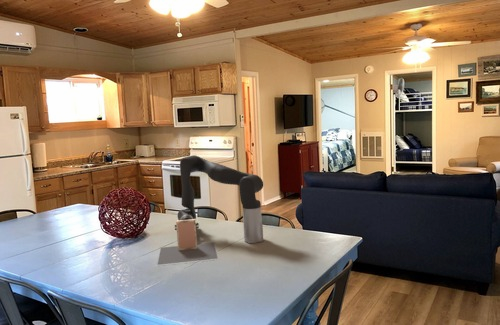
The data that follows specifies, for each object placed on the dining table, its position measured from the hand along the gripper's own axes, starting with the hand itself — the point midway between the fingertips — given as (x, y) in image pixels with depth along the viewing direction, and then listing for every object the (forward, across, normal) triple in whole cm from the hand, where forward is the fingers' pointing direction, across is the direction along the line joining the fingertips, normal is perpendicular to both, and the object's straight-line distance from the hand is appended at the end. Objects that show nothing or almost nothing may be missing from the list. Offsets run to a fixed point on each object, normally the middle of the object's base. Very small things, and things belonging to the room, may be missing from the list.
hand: (186, 230), depth 199 cm
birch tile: (+8, 0, +7) cm, 10 cm away
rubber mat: (+14, 0, +8) cm, 16 cm away
